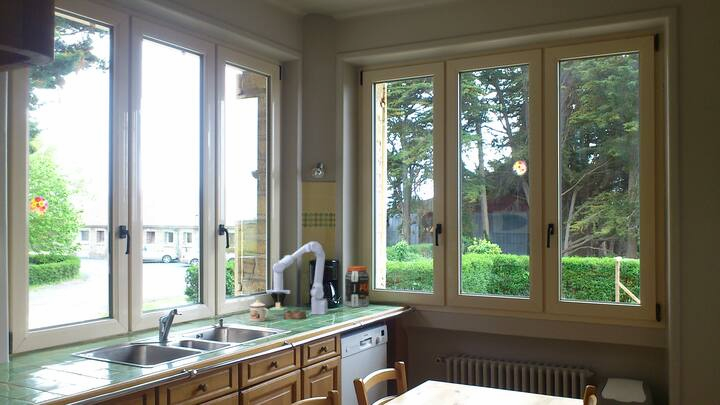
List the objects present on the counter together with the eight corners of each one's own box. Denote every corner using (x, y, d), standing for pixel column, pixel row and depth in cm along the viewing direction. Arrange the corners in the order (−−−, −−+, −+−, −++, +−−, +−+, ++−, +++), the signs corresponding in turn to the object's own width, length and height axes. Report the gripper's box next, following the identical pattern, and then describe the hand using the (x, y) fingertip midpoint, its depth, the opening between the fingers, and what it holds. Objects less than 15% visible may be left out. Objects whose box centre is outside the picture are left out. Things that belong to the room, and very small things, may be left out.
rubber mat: (288, 315, 396) (288, 314, 396) (283, 317, 387) (283, 316, 387) (274, 314, 398) (274, 314, 398) (269, 317, 389) (268, 316, 389)
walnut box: (305, 317, 387) (305, 310, 387) (300, 319, 377) (299, 312, 377) (290, 316, 390) (289, 310, 390) (283, 319, 380) (283, 312, 380)
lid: (287, 308, 396) (287, 301, 396) (282, 310, 387) (282, 303, 388) (274, 308, 398) (274, 301, 398) (269, 310, 390) (269, 303, 390)
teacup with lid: (246, 321, 374) (246, 301, 374) (255, 319, 382) (255, 299, 382) (264, 322, 368) (263, 301, 369) (273, 320, 377) (272, 300, 377)
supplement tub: (360, 308, 422) (360, 267, 422) (340, 306, 430) (340, 267, 431) (373, 305, 435) (373, 266, 436) (354, 303, 444) (353, 265, 444)
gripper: (264, 283, 391) (264, 306, 391) (287, 283, 387) (287, 306, 387) (269, 282, 398) (269, 304, 397) (291, 282, 394) (291, 305, 394)
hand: (278, 305), depth 393 cm, fingers closed on lid, 3 cm apart
